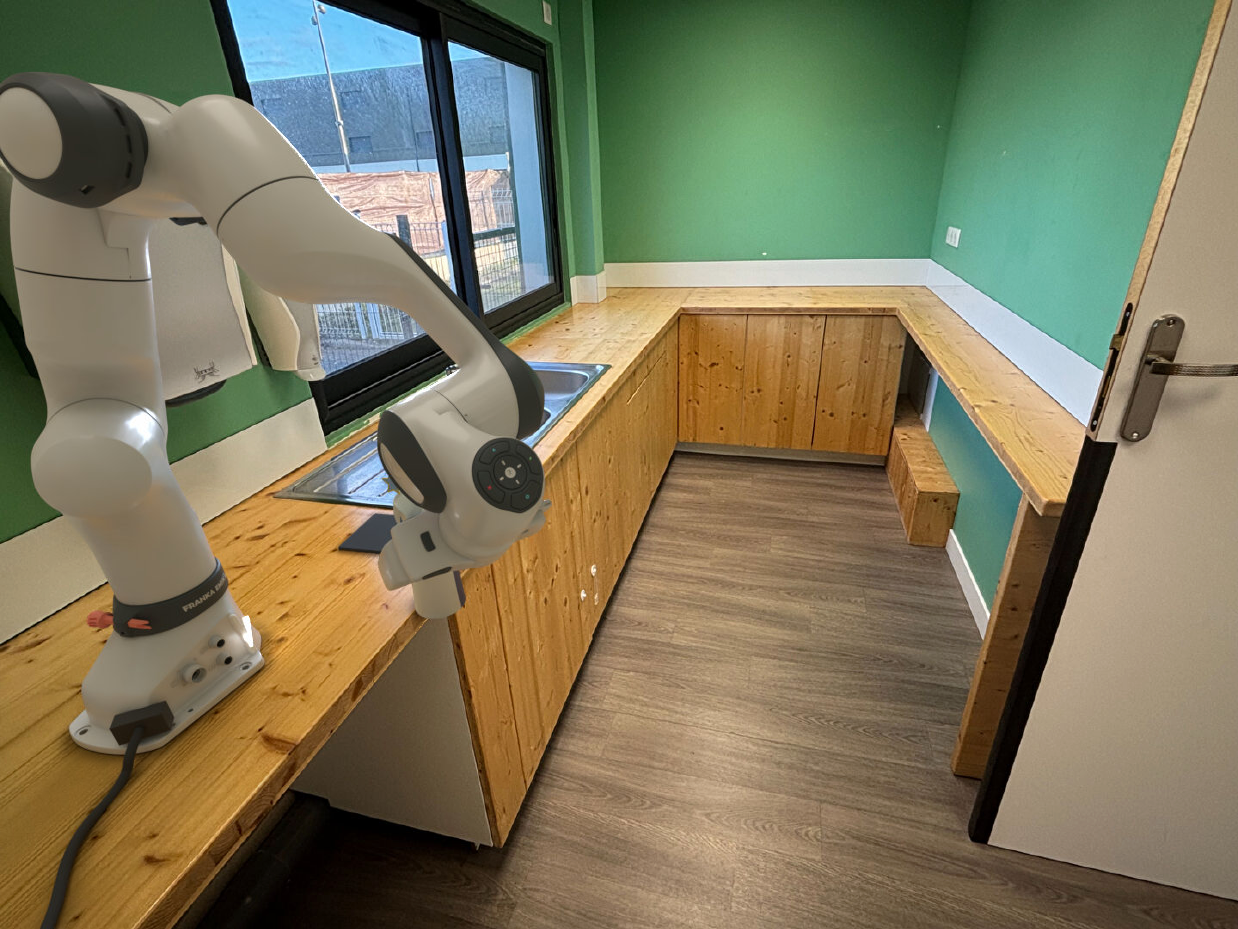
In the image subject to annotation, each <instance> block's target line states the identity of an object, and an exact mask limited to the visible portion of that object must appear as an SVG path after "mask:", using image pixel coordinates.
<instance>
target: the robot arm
mask: <svg viewBox="0 0 1238 929" xmlns="http://www.w3.org/2000/svg"><path fill="white" fill-rule="evenodd" d="M0 159H1V161H2V162H3V164H4V166H5V167H6V169H7V170H8V171H9V172H10V174H11V175H12V176H13V178H12V185H11V192H10V206H9V207H10V208H9V235H10V249H11V256H12V264H13V270H14V277H15V278H14V279H15V283H16V284H15V285H16V290H17V296H18V300H19V301H18V303H19V310H20V315H21V321H22V322H21V323H22V327H23V332H24V341H25V345H26V347H27V349H28V351H29V352H30V354H31V356H32V359H33V362H34V365H35V367H36V370H37V373H38V377H39V379H40V382H41V387H42V389H43V394H44V397H45V401H46V407H47V408H46V410H47V417H46V423H45V426H44V428H43V430H42V432H41V433H40V435H39V436H38V438H37V439H36V441H35V443H34V444H33V447H32V449H31V454H30V470H31V476H32V481H33V485H34V488H35V491H36V492H37V494H38V495H39V497H40V498H41V499H42V500H43V501H44V502H45V503H46V504H47V505H48V506H50V507H51V508H53V509H54V510H56V511H57V512H60V513H61V515H62V516H63V517H64V518H65V520H66V521H67V522H68V523H69V524H70V525H71V526H72V527H73V529H74V530H75V531H76V532H77V534H79V536H80V537H81V538H82V539H83V541H84V542H85V543H86V545H87V546H88V547H89V549H90V551H91V553H92V554H93V556H94V558H95V560H96V561H97V564H98V565H99V567H100V569H101V571H102V573H103V575H104V577H105V578H106V581H107V583H108V584H109V586H110V588H111V590H112V592H113V597H112V610H111V611H112V612H110V611H101V610H93V611H92V612H91V611H90V613H89V614H88V615H87V617H86V620H85V622H86V625H87V626H88V627H89V628H99V629H101V630H102V629H104V630H105V629H108V628H109V627H111V626H112V629H113V630H112V632H111V634H110V635H109V637H108V639H107V640H106V642H105V643H104V646H103V647H102V649H101V650H100V652H99V654H98V656H97V657H96V659H95V661H94V662H93V664H92V666H91V668H90V669H89V671H88V672H87V674H86V676H85V677H84V678H83V680H82V683H81V685H80V686H81V688H80V693H81V699H82V703H83V707H84V710H83V711H82V712H81V713H80V714H78V716H76V718H75V719H74V720H73V721H72V722H71V723H70V724H69V726H68V730H69V734H70V737H71V739H72V741H73V742H74V743H75V744H76V745H77V746H79V747H82V748H83V749H86V750H89V751H92V752H95V753H101V754H107V755H108V754H109V755H119V756H120V755H123V758H122V767H121V770H120V772H119V775H118V777H117V779H116V780H115V782H114V783H113V785H112V787H111V788H110V790H109V791H108V792H107V793H106V795H105V796H104V797H103V798H102V800H101V801H100V802H99V803H98V804H97V805H96V806H95V807H94V809H92V811H91V812H90V813H89V814H88V815H87V816H86V817H85V818H84V820H83V821H82V822H81V823H80V825H79V826H78V828H77V829H76V831H75V832H74V834H72V837H71V838H70V840H69V842H68V844H67V846H66V848H65V850H64V852H63V855H62V857H61V859H60V862H59V865H58V868H57V872H56V876H55V879H54V884H53V888H52V891H51V895H50V899H49V903H48V906H47V909H46V912H45V914H44V918H43V919H42V922H41V925H40V927H39V929H55V926H56V924H57V921H58V919H59V916H60V914H61V911H62V908H63V904H64V900H65V896H66V893H67V888H68V883H69V880H70V875H71V871H72V868H73V864H74V862H75V859H76V856H77V853H78V851H79V849H80V847H81V844H82V842H83V841H84V839H85V838H86V836H87V834H88V833H89V831H90V830H91V828H92V827H93V826H94V825H95V823H96V822H97V821H98V820H99V819H100V817H101V816H102V815H103V814H104V813H105V812H106V810H107V809H108V808H109V807H110V805H111V804H112V803H113V801H114V800H115V799H116V797H117V796H118V795H119V794H120V792H121V791H122V790H123V788H124V787H125V786H126V784H127V782H128V781H129V779H130V777H131V774H132V772H133V769H134V764H135V758H136V754H141V753H147V752H150V751H153V750H158V749H160V748H162V747H164V746H165V745H166V744H168V743H169V742H170V741H172V740H173V739H174V738H175V737H177V736H178V735H180V733H182V732H184V730H185V729H187V728H188V727H189V726H190V725H192V724H193V723H194V722H196V721H197V720H198V719H200V718H201V717H202V716H203V715H204V714H206V713H207V712H208V711H209V710H210V709H212V708H213V707H214V706H216V705H217V704H218V703H219V702H221V701H222V700H223V699H225V698H226V697H227V696H228V695H229V694H231V693H232V692H233V691H235V690H236V689H237V688H238V687H239V686H241V685H242V684H243V683H245V682H246V681H247V680H249V678H251V677H252V676H254V674H256V673H257V672H258V671H260V670H261V669H262V668H263V667H264V666H265V661H266V660H265V658H264V656H263V655H262V653H261V647H262V636H261V633H260V632H259V630H258V629H257V628H255V626H254V625H253V624H252V623H251V619H250V617H249V615H245V614H244V613H243V612H242V610H241V608H240V607H239V606H238V604H237V603H236V601H235V599H234V597H233V595H232V593H231V591H230V589H229V588H228V587H229V579H228V576H227V574H226V572H225V569H224V567H223V565H222V563H221V561H220V559H219V558H218V557H216V556H214V553H213V550H212V548H211V545H210V543H209V540H208V538H207V536H206V533H205V530H204V528H203V525H202V524H201V521H200V518H199V515H198V513H197V511H196V510H195V509H194V507H192V505H191V504H190V502H189V501H188V499H187V497H186V495H185V494H184V492H183V490H182V488H181V487H180V485H179V483H178V481H177V479H176V477H175V475H174V472H173V471H172V468H171V466H170V462H169V458H168V453H167V442H168V434H169V427H168V426H169V425H168V418H167V416H168V415H167V409H166V399H165V398H166V397H165V391H164V383H163V376H162V375H163V374H162V367H161V362H160V361H161V360H160V354H159V345H158V336H157V335H158V334H157V323H156V313H155V301H154V300H155V299H154V290H153V289H154V288H153V278H152V270H151V269H152V267H151V260H150V253H149V236H150V234H151V231H152V229H153V228H154V227H155V226H156V225H157V224H158V223H160V222H162V221H164V220H167V219H169V220H170V221H171V222H173V223H174V224H175V225H176V226H180V227H184V226H188V225H193V224H197V223H205V222H206V224H207V225H208V227H209V228H210V229H211V231H212V232H213V234H214V235H215V236H216V238H217V239H218V241H219V242H220V243H221V245H222V246H223V247H224V249H225V250H226V252H227V253H228V254H229V255H230V257H231V258H232V259H233V261H234V262H235V263H236V264H237V265H238V267H239V268H240V269H241V270H242V271H243V272H244V274H246V276H247V277H248V278H249V279H250V280H252V281H253V283H255V284H256V285H257V286H258V287H259V288H261V289H262V290H264V291H265V292H267V293H269V294H271V295H274V296H276V297H278V298H281V299H284V300H286V301H290V302H294V303H300V304H305V305H317V306H318V305H319V306H320V305H321V306H323V305H339V304H357V303H358V304H374V305H381V306H387V307H390V308H394V309H396V310H399V311H401V312H402V313H405V314H406V315H407V316H409V317H410V318H411V319H412V320H413V321H415V322H416V324H417V325H418V326H419V327H420V328H421V329H422V330H423V331H424V332H425V333H426V334H427V335H428V336H429V337H430V338H431V339H432V340H433V341H434V342H435V343H436V345H438V346H439V348H440V349H441V350H442V351H443V352H444V353H445V354H446V355H447V356H448V357H449V358H450V359H451V360H452V361H453V362H454V363H455V364H456V366H458V368H459V369H458V370H456V371H454V372H452V373H451V374H449V375H447V376H445V377H443V378H442V379H440V380H438V381H437V382H434V383H433V384H431V385H430V386H428V387H425V388H422V389H420V390H418V391H417V392H415V393H413V394H411V395H409V396H408V397H406V398H404V399H402V400H401V401H399V402H397V403H396V404H394V405H392V406H391V407H390V408H388V409H386V410H383V411H382V413H381V415H380V418H379V421H378V423H377V424H378V425H377V431H376V448H377V450H376V451H377V454H378V458H379V460H380V464H381V466H382V468H383V470H384V472H385V474H386V475H387V477H388V476H389V478H390V479H391V481H392V482H393V483H394V485H395V486H396V487H397V488H398V489H399V491H400V492H401V493H402V494H403V495H404V496H405V497H406V498H408V499H409V500H410V501H411V502H412V503H413V504H415V505H416V506H418V507H420V508H423V509H425V510H426V511H424V512H421V513H419V514H417V515H415V516H413V517H411V518H409V519H407V520H405V521H403V522H401V523H399V524H397V525H395V526H394V527H393V528H392V529H391V535H392V539H391V540H390V541H389V542H388V543H387V544H386V545H385V546H384V547H383V549H382V551H381V554H379V556H378V560H377V568H378V571H379V574H380V578H381V579H382V581H383V584H384V586H385V588H386V589H387V591H388V592H393V591H396V590H399V589H402V588H403V587H406V586H408V585H412V584H411V583H414V582H419V581H421V580H426V579H429V578H432V577H435V576H438V575H441V574H445V573H448V572H452V571H458V570H459V571H464V570H468V569H477V568H478V569H481V568H485V567H489V566H490V565H492V564H495V563H496V562H497V561H499V560H500V559H501V558H502V557H503V556H504V555H505V554H506V553H507V551H508V550H509V549H510V548H511V546H512V545H513V544H514V543H518V542H519V541H523V540H525V539H527V538H530V537H532V536H534V535H536V534H538V533H539V532H540V531H541V530H542V528H543V527H544V526H545V524H546V521H547V519H546V515H545V512H547V511H548V510H549V509H551V507H552V506H553V504H552V500H551V499H549V498H548V499H547V498H546V499H544V496H545V492H546V474H545V469H544V465H543V462H542V460H541V459H540V457H539V454H538V453H537V452H536V451H535V449H533V447H531V446H530V445H529V444H527V443H526V442H524V441H522V440H524V439H525V438H527V437H529V436H531V435H532V434H534V433H536V432H537V431H538V430H539V428H540V427H541V424H542V421H543V416H544V413H545V405H546V396H545V395H546V393H545V388H544V384H543V382H542V381H541V379H540V377H539V376H538V374H537V372H536V371H535V370H534V369H533V367H531V365H530V364H529V363H527V362H526V360H524V359H523V358H521V357H520V356H519V355H518V354H517V353H516V352H514V351H513V350H512V349H510V348H509V347H508V346H507V345H505V343H503V342H502V341H501V340H500V339H499V338H497V336H496V335H495V334H493V332H492V331H491V330H490V329H489V328H488V327H487V326H486V325H485V324H484V323H483V321H481V319H480V318H479V317H478V316H477V315H476V314H475V313H474V312H473V311H472V309H470V307H469V306H468V305H466V303H465V302H464V301H463V300H462V299H461V298H460V297H459V296H458V295H457V293H455V291H454V290H453V289H452V288H451V287H450V286H449V285H448V284H447V283H446V282H445V280H443V279H442V278H441V276H440V275H439V274H438V273H437V272H436V271H435V270H434V269H433V268H432V267H431V266H430V265H429V264H428V263H427V261H425V260H424V259H423V258H422V256H420V254H418V253H417V252H416V251H415V249H414V248H412V247H411V246H410V245H409V244H408V243H407V242H406V241H404V240H403V239H402V238H400V237H399V236H398V235H396V234H394V233H392V232H388V231H385V230H381V229H377V228H376V227H374V226H371V225H370V224H368V223H366V222H365V221H364V220H362V219H360V218H359V217H357V216H356V215H355V214H353V213H352V212H351V211H350V210H348V209H347V208H346V207H344V206H343V205H342V204H341V203H340V202H339V201H338V200H337V199H336V198H335V197H334V196H333V195H332V194H331V193H330V192H329V190H328V189H327V187H326V186H325V185H324V183H323V181H321V179H320V178H319V177H318V175H317V174H316V173H315V171H314V170H313V168H312V167H311V166H310V164H308V162H307V161H306V160H305V158H304V157H303V156H302V155H301V153H300V152H299V151H298V150H297V149H296V148H295V147H294V145H292V143H291V142H290V141H289V140H288V138H286V137H285V135H283V133H282V132H281V131H280V130H279V129H278V128H277V127H276V126H275V125H274V124H273V123H272V122H271V121H270V120H269V119H268V118H267V117H266V116H265V115H264V114H262V112H261V111H260V110H258V109H257V108H256V107H255V106H253V105H252V104H250V103H248V102H247V101H246V100H244V99H241V98H238V97H235V96H231V95H226V94H205V95H200V96H198V97H194V98H192V99H190V100H188V101H186V102H185V103H184V104H182V105H181V106H179V105H177V104H174V103H171V102H169V101H166V100H164V99H160V98H158V97H155V96H152V95H149V94H146V93H143V92H140V91H139V92H138V91H129V90H124V89H121V88H117V87H112V86H108V85H103V84H97V83H91V82H87V81H85V80H83V79H81V78H79V77H75V76H73V75H69V74H63V73H55V72H45V71H26V72H25V71H24V72H22V71H21V72H16V73H14V74H11V75H9V76H7V77H6V78H5V79H4V80H2V82H0Z"/></svg>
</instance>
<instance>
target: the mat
mask: <svg viewBox="0 0 1238 929" xmlns="http://www.w3.org/2000/svg"><path fill="white" fill-rule="evenodd" d="M401 522H403V521H402V519H401V516H400V523H401ZM395 525H397V522H396V519H395V517H394V514H388V513H374V514H373V515H371V516H370V517H368V519H367V520H365V522H364V523H362V524H361V525H360V526H359V527H358V528H357V529H356V530H354V532H352V533H351V534H350V535H349V536H348V537H347V538H346V539H345V540H344V541H342V543H340V544H339V545H338V546H337V549H338V551H349V552H360V553H370V554H379V555H380V554H381V551H382V549H383V547H384V546H385V545H386V544H387V543H388V542H389V541H390V540H391V539H392V535H391V529H392V528H393V527H394V526H395Z"/></svg>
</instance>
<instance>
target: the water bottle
mask: <svg viewBox="0 0 1238 929" xmlns="http://www.w3.org/2000/svg"><path fill="white" fill-rule="evenodd" d="M380 479H381V480H382V481H383V482H384V483H385V484H386V485H387V493H391V492H395V493H396V495H394V497H393V499H392V513H393V514H392V515H394V517H395V519H396V522H397V524H399V523H400V516H401V519H402V521H405V520H407V519H409V518H411V517H413V516H415V515H417V514H419V513H421V512H424V511H426V510H425V509H423V508H420V507H418V506H416V505H415V504H413V503H412V502H411V501H410V500H409V499H408V498H406V497H405V496H404V495H403V494H402V493H401V492H400V491H399V489H398V488H397V487H396V486H395V485H394V483H393V482H392V481H391V479H390V478H389V476H388V475H387V477H381V478H380ZM410 585H411V589H412V594H413V601H414V607H415V611H416V612H415V613H417V615H419V617H422V618H424V619H428V620H429V619H430V620H439V619H443V618H444V619H445V618H447V617H450V616H452V615H454V614H455V613H457V612H459V611H460V610H461V609H462V608H463V607H464V606H465V604H466V601H467V595H466V592H465V589H464V588H465V587H464V584H463V580H462V576H461V572H460V570H458V571H452V572H448V573H445V574H441V575H438V576H435V577H432V578H429V579H426V580H421V581H419V582H414V583H411V584H410Z"/></svg>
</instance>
